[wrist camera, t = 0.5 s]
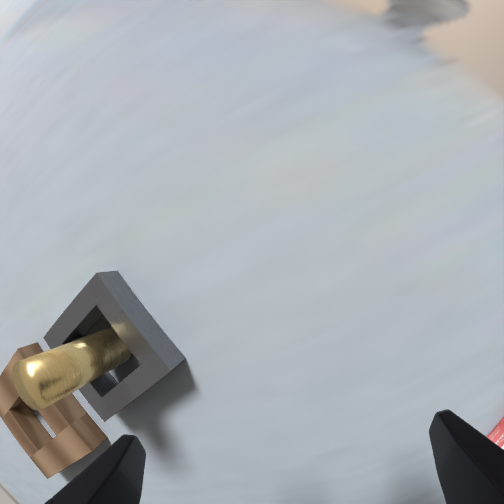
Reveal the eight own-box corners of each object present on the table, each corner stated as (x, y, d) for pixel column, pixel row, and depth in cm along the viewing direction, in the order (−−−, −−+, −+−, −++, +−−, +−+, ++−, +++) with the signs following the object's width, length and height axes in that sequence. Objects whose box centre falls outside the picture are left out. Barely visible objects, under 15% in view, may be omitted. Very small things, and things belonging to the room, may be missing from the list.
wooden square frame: (61, 467, 27) (47, 478, 24) (4, 389, 28) (-12, 396, 25) (107, 437, 26) (91, 451, 23) (37, 342, 27) (17, 348, 24)
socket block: (121, 408, 25) (104, 421, 22) (64, 331, 26) (43, 337, 23) (185, 358, 24) (171, 370, 21) (117, 270, 25) (96, 272, 22)
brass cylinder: (118, 368, 25) (34, 417, 14) (96, 339, 25) (6, 375, 15) (139, 349, 25) (53, 398, 14) (116, 319, 25) (23, 351, 14)
